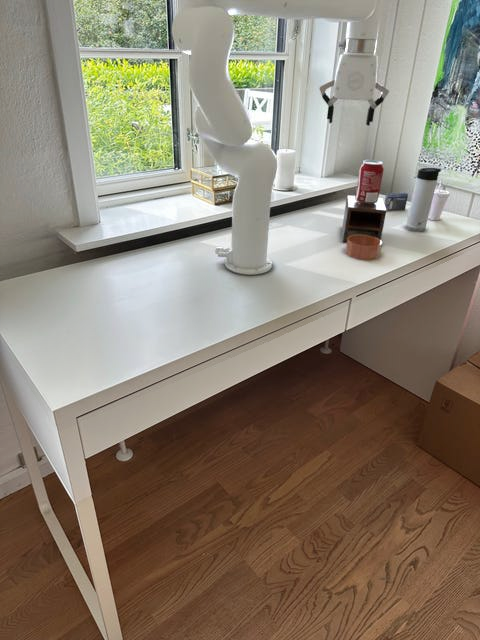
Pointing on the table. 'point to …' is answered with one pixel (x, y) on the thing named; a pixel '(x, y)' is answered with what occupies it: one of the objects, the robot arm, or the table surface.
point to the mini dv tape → (395, 201)
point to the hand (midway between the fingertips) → (348, 123)
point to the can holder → (363, 247)
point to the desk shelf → (363, 217)
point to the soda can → (369, 182)
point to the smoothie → (438, 203)
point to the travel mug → (422, 199)
